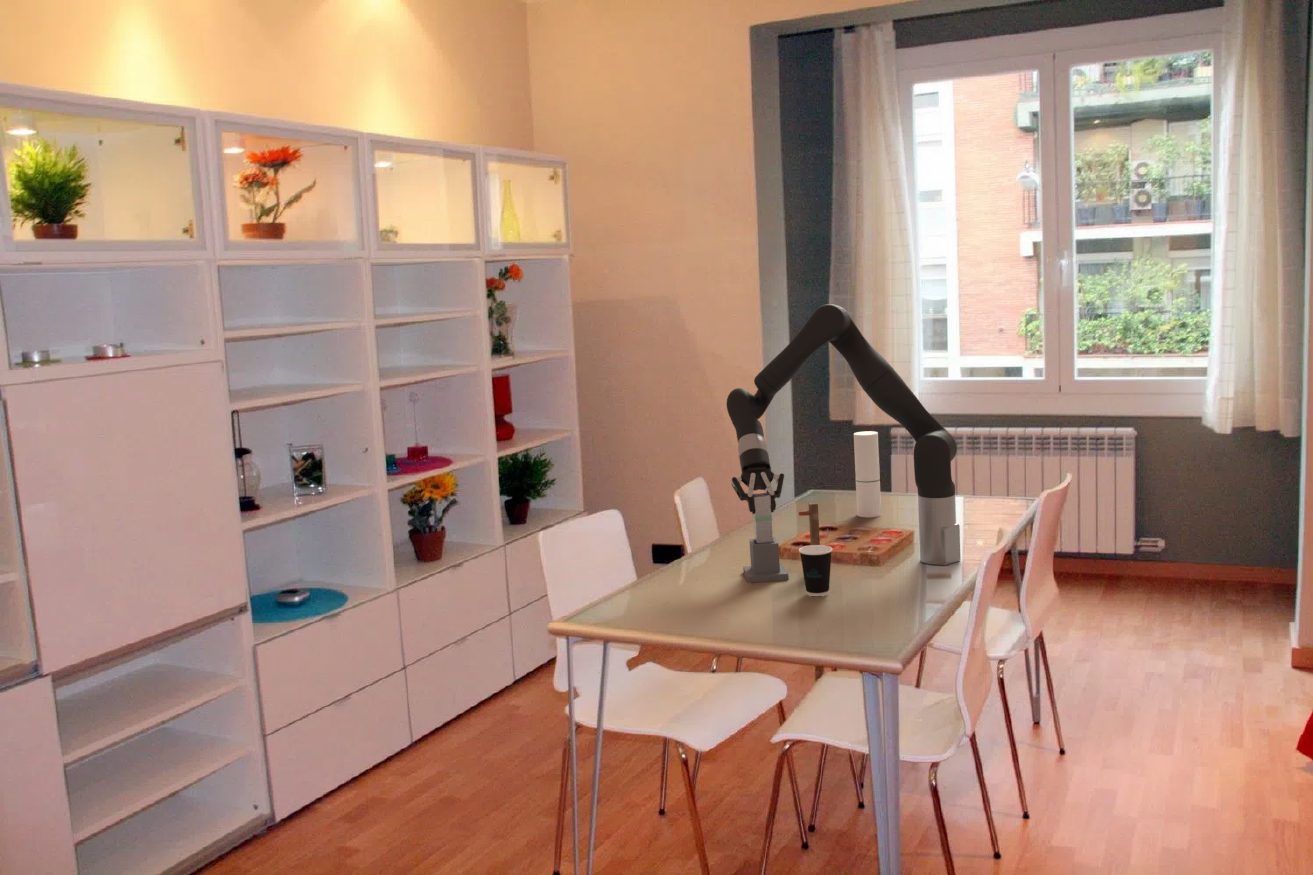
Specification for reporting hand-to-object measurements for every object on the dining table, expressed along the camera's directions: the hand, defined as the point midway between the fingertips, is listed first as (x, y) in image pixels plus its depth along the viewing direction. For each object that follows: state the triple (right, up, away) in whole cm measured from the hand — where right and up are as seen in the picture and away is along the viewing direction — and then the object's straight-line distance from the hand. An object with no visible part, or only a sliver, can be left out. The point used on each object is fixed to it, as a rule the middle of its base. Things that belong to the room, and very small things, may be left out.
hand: (763, 511), depth 286 cm
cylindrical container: (+38, -5, +62) cm, 73 cm away
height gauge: (+14, -16, +5) cm, 22 cm away
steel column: (+1, -10, +4) cm, 10 cm away
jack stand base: (+1, -17, +5) cm, 17 cm away
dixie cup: (+12, -19, -14) cm, 26 cm away
